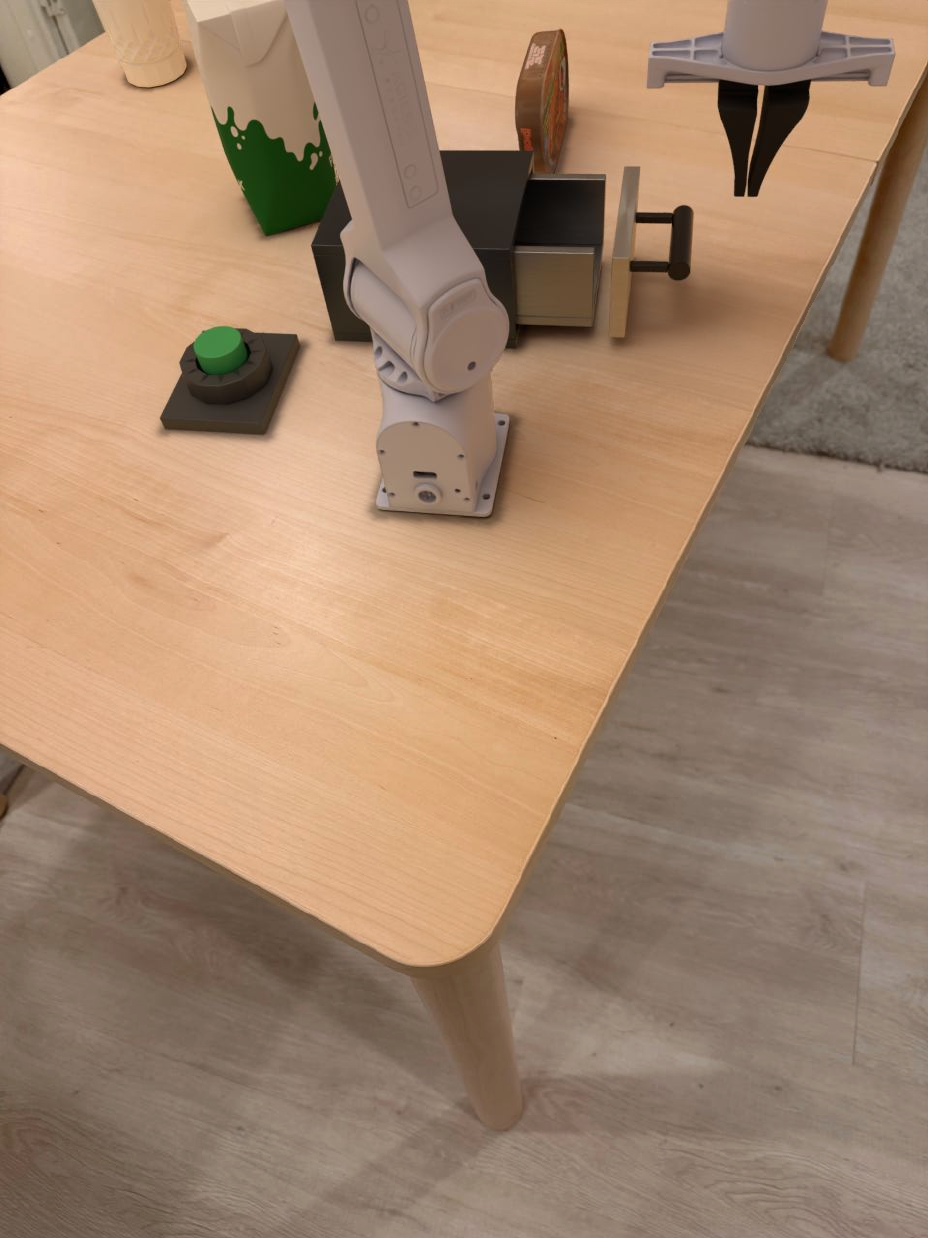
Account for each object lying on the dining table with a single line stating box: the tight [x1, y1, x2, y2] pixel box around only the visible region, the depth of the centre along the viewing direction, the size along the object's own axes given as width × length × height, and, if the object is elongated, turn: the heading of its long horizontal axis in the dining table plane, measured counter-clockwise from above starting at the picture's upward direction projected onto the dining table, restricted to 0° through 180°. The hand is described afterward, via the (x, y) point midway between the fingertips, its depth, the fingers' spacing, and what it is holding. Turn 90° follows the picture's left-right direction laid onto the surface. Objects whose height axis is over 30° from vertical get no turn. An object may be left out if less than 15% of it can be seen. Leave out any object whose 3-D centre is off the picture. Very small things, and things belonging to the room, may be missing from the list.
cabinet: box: [310, 149, 534, 349], centre depth 73 cm, size 15×13×9 cm
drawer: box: [512, 165, 695, 338], centre depth 71 cm, size 18×11×7 cm, turn 80°
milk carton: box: [182, 0, 337, 237], centre depth 77 cm, size 9×9×20 cm
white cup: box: [91, 0, 188, 88], centre depth 99 cm, size 8×8×10 cm
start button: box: [193, 325, 248, 375], centre depth 69 cm, size 4×4×2 cm
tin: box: [514, 28, 570, 174], centre depth 84 cm, size 15×3×8 cm, turn 168°
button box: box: [159, 327, 301, 436], centre depth 71 cm, size 10×8×3 cm
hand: (745, 188), depth 64 cm, fingers closed
